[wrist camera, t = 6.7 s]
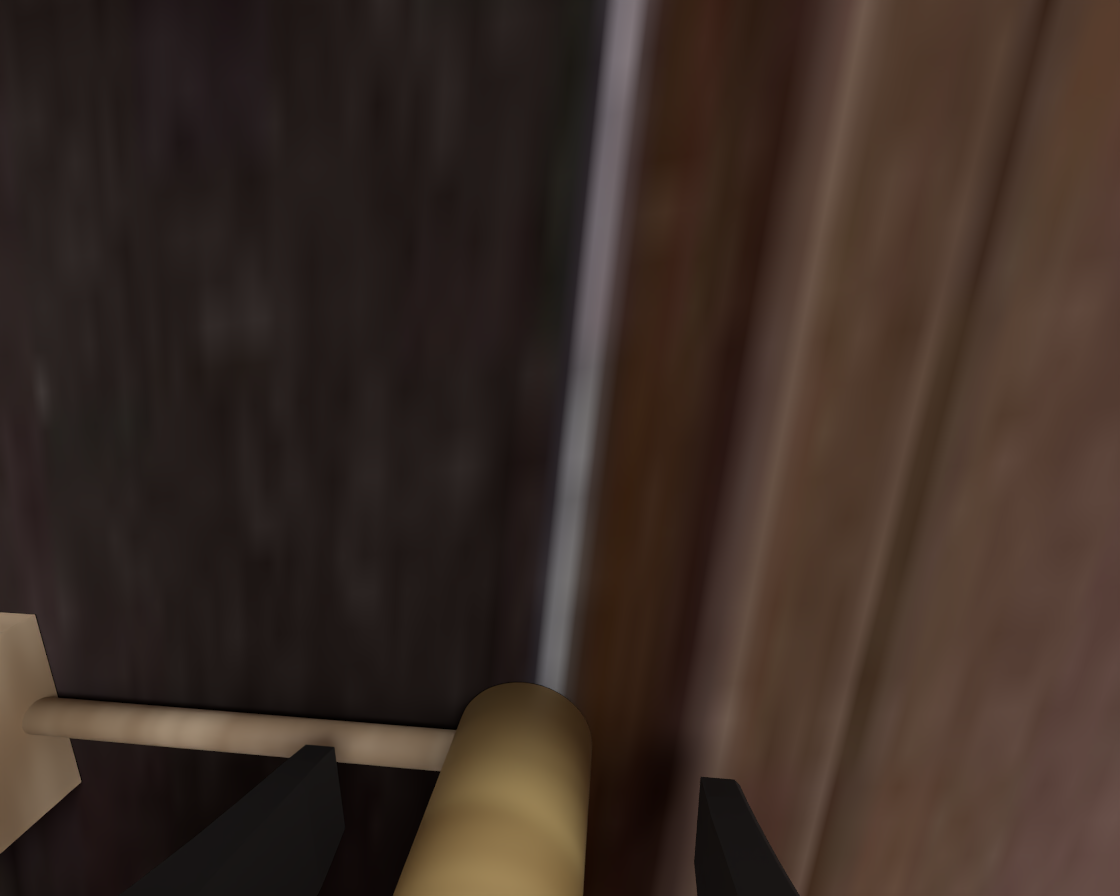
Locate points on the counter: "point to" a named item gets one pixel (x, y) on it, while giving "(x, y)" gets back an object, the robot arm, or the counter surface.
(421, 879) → the beige long piece
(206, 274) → the counter surface
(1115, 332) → the counter surface
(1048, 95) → the counter surface
